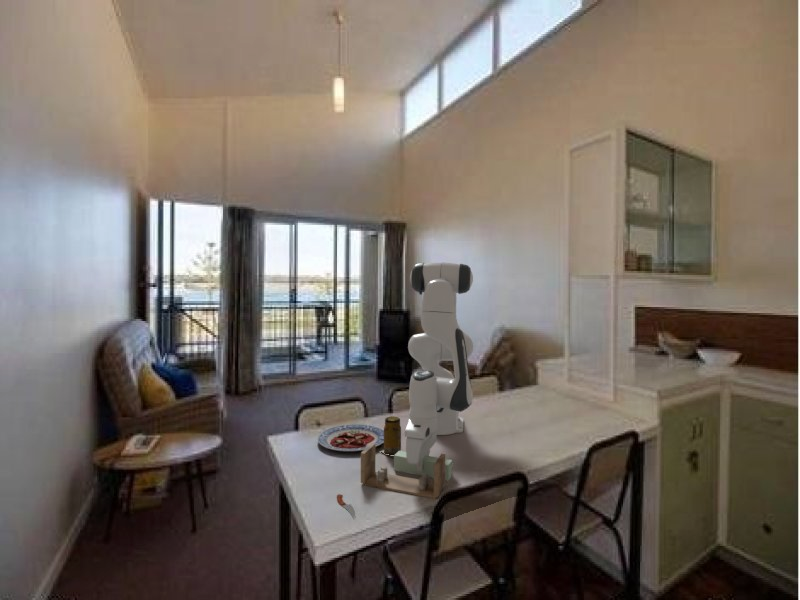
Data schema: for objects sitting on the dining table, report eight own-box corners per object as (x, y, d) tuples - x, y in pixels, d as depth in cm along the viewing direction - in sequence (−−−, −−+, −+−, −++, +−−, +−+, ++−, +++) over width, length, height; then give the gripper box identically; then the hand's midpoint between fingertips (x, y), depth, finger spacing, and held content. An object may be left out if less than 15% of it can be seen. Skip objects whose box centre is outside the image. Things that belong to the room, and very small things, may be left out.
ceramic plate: (377, 459, 146) (377, 450, 146) (306, 453, 151) (306, 444, 151) (394, 432, 171) (394, 424, 171) (332, 427, 176) (332, 420, 176)
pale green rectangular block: (398, 465, 141) (398, 450, 141) (452, 475, 134) (452, 460, 134) (394, 470, 138) (394, 455, 137) (448, 481, 130) (448, 465, 130)
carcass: (371, 473, 135) (371, 443, 135) (445, 486, 127) (445, 454, 127) (360, 484, 128) (360, 452, 127) (437, 499, 120) (438, 465, 119)
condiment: (392, 446, 157) (392, 414, 156) (409, 453, 151) (409, 419, 150) (378, 452, 151) (377, 418, 151) (395, 459, 145) (395, 424, 145)
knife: (363, 515, 111) (353, 518, 110) (363, 517, 111) (353, 520, 110) (342, 492, 122) (332, 495, 121) (342, 495, 123) (332, 497, 121)
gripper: (423, 412, 146) (423, 452, 147) (402, 433, 127) (402, 479, 127) (441, 414, 144) (441, 455, 144) (422, 436, 124) (422, 482, 125)
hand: (422, 466), depth 136 cm, fingers closed on pale green rectangular block, 4 cm apart
